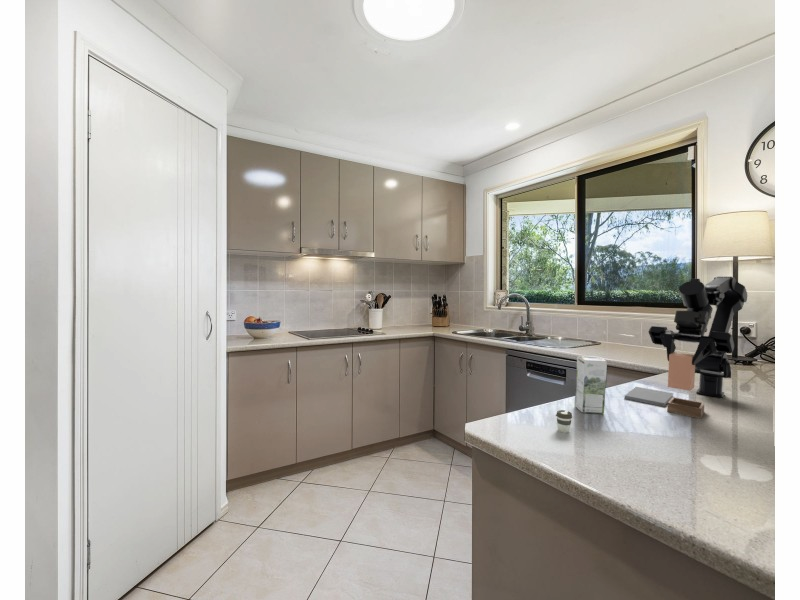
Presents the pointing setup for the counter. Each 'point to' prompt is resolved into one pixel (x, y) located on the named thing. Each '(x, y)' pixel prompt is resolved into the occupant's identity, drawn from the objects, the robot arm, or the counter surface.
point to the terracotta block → (681, 371)
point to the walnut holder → (686, 407)
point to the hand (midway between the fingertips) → (680, 362)
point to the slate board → (649, 396)
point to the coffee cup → (563, 420)
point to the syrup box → (590, 384)
